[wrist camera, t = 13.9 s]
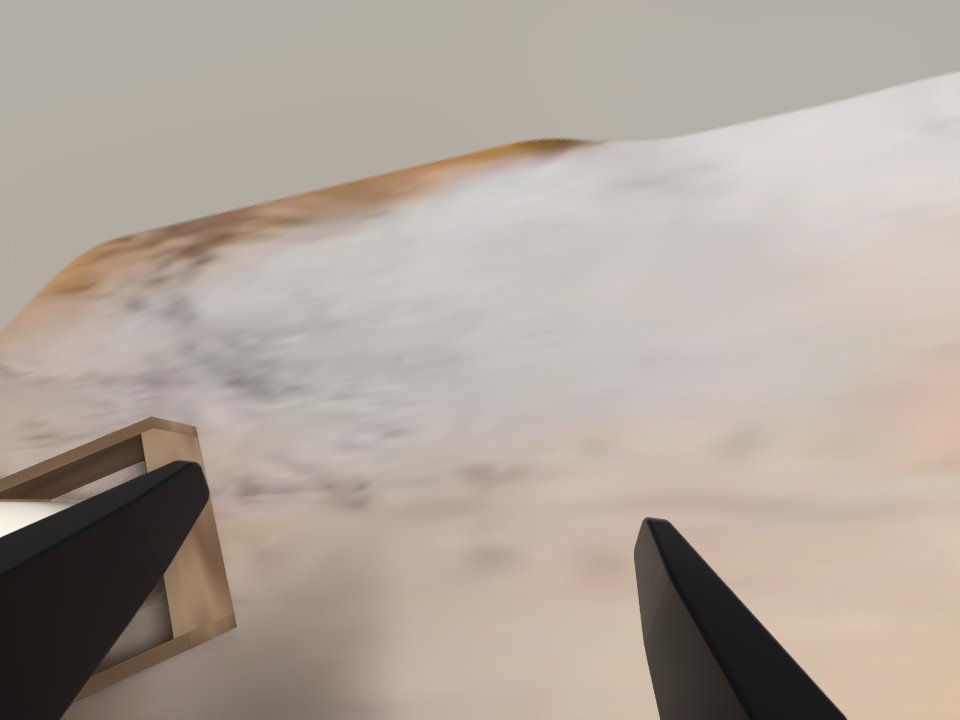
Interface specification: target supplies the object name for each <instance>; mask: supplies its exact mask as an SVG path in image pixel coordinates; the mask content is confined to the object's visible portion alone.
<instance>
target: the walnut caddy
mask: <svg viewBox="0 0 960 720" xmlns="http://www.w3.org/2000/svg"><path fill="white" fill-rule="evenodd" d="M142 460H145V461H146V468H147V473H148V472H150V471H153V470H155V469H157V468H160V467H162V466H164V465H166V464H169V463H171V462H173V461H176V460H186V461H194V462H197V463H199V464H200V465H201V467H202V470H203V473H204V476H205V479H206V475H205V470H204V465H203V460H202V455H201V450H200V446H199V441H198V436H197V431H196V427H194V426H189V425H185V424H181V423H177V422H172V421H168V420H164V419H159V418H155V417H150V418H147V419H145V420H142V421H140V422H137V423H135V424H133V425H130V426H128V427H125V428H123V429H121V430H118V431H116V432H113V433H111V434H109V435H106V436H104V437H101V438H99V439H97V440H94V441H92V442H89V443H87V444H84V445H82V446H80V447H77V448H75V449H72V450H70V451H68V452H65V453H63V454H60V455H58V456H56V457H53V458H51V459H48V460H46V461H43V462H41V463H39V464H36V465H34V466H31V467H29V468H27V469H24V470H22V471H19V472H17V473H15V474H12V475H10V476H7V477H5V478H3V479H0V502H51V500H50V499H52V498H55V497H57V496H60V495H62V494H64V493H67V492H69V491H71V490H74V489H76V488H79V487H81V486H83V485H86V484H88V483H90V482H93V481H95V480H97V479H100V478H102V477H105V476H107V475H109V474H112V473H114V472H116V471H119V470H121V469H124V468H126V467H128V466H131V465H133V464H135V463H138V462H140V461H142ZM206 482H207V480H206ZM164 580H165V586H166V593H167V599H168V605H169V612H170V618H171V624H172V630H173V637H174V639H172V640H170V641H168V642H165V643H163V644H161V645H159V646H157V647H154V648H152V649H150V650H148V651H146V652H143V653H141V654H139V655H137V656H135V657H133V658H130V659H128V660H126V661H124V662H122V663H119V664H117V665H115V666H113V667H111V668H108V669H106V670H104V671H102V672H100V673H97V674H95V675H93V676H91V677H90V678H89V680H88V681H87V682H86V684H85V685H84V687H83V688H82V689H81V691H80V692H79V694H78V695H77V696H76V698H75V699H74V701H73V702H75V701H77V700H79V699H81V698H83V697H85V696H88V695H90V694H92V693H94V692H96V691H99V690H101V689H103V688H105V687H107V686H109V685H112V684H114V683H116V682H118V681H120V680H123V679H125V678H127V677H129V676H131V675H133V674H136V673H138V672H140V671H142V670H144V669H147V668H149V667H151V666H153V665H155V664H157V663H160V662H162V661H164V660H166V659H168V658H170V657H173V656H175V655H177V654H179V653H181V652H184V651H186V650H188V649H190V648H192V647H194V646H197V645H199V644H201V643H203V642H205V641H207V640H209V639H211V638H214V637H216V636H218V635H220V634H222V633H224V632H226V631H228V630H231V629H233V628H235V627H237V626H236V622H235V617H234V612H233V607H232V602H231V597H230V592H229V587H228V582H227V578H226V573H225V568H224V563H223V558H222V553H221V548H220V543H219V538H218V534H217V529H216V524H215V519H214V514H213V509H212V504H211V499H210V495H209V499H208V502H207V504H206V506H205V508H204V509H203V511H202V513H201V514H200V516H199V518H198V519H197V521H196V523H195V524H194V526H193V528H192V529H191V531H190V533H189V534H188V536H187V538H186V539H185V541H184V543H183V544H182V546H181V548H180V549H179V551H178V553H177V554H176V556H175V558H174V559H173V561H172V563H171V564H170V566H169V567H168V569H167V571H166V572H165V574H164Z"/></svg>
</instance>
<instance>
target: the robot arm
mask: <svg viewBox="0 0 960 720" xmlns="http://www.w3.org/2000/svg"><path fill="white" fill-rule="evenodd" d="M209 495H210V491H209V488H208V485H207V482H206V479H205V476H204V473H203V470H202V467H201V465H200V464H199V463H197V462H194V461H186V460H176V461H173V462H171V463H169V464H166V465H164V466H162V467H160V468H157V469H155V470H153V471H150V472H148V473H146V474H144V475H141V476H139V477H137V478H134V479H132V480H130V481H128V482H125V483H123V484H121V485H118V486H116V487H114V488H112V489H109V490H107V491H105V492H102V493H100V494H98V495H96V496H93V497H91V498H89V499H87V500H84V501H82V502H80V503H77V504H75V505H73V506H71V507H68V508H66V509H64V510H61V511H59V512H57V513H55V514H52V515H50V516H48V517H45V518H43V519H41V520H39V521H36V522H34V523H32V524H30V525H27V526H25V527H23V528H20V529H18V530H16V531H14V532H11V533H9V534H7V535H4V536H2V537H0V720H60V719H61V717H62V716H63V714H64V713H65V712H66V710H67V709H68V707H69V706H70V705H71V703H72V702H73V701H74V699H75V698H76V696H77V695H78V694H79V692H80V691H81V689H82V688H83V687H84V685H85V684H86V682H87V681H88V680H89V678H90V677H91V676H92V674H93V673H94V671H95V670H96V669H97V667H98V666H99V664H100V663H101V662H102V660H103V659H104V657H105V656H106V655H107V653H108V652H109V651H110V649H111V648H112V646H113V645H114V644H115V642H116V641H117V639H118V638H119V637H120V635H121V634H122V633H123V631H124V630H125V628H126V627H127V626H128V624H129V623H130V621H131V620H132V619H133V617H134V616H135V614H136V613H137V612H138V610H139V609H140V608H141V606H142V605H143V603H144V602H145V601H146V599H147V598H148V596H149V595H150V594H151V592H152V591H153V589H154V588H155V587H156V585H157V584H158V582H159V581H160V580H161V578H162V577H163V575H164V574H165V572H166V571H167V569H168V567H169V566H170V564H171V563H172V561H173V559H174V558H175V556H176V554H177V553H178V551H179V549H180V548H181V546H182V544H183V543H184V541H185V539H186V538H187V536H188V534H189V533H190V531H191V529H192V528H193V526H194V524H195V523H196V521H197V519H198V518H199V516H200V514H201V513H202V511H203V509H204V508H205V506H206V504H207V502H208V499H209ZM634 561H635V570H636V579H637V588H638V597H639V605H640V614H641V623H642V632H643V639H644V646H645V651H646V656H647V661H648V666H649V670H650V675H651V680H652V684H653V689H654V693H655V698H656V702H657V707H658V711H659V716H660V720H847V718H846V717H845V715H844V714H843V713H842V712H841V711H840V710H839V709H838V708H837V707H836V705H835V704H834V703H833V702H832V701H831V700H830V699H829V698H828V697H827V696H826V694H825V693H824V692H823V691H822V690H821V689H820V688H819V687H818V686H817V684H816V683H815V682H814V681H813V680H812V679H811V678H810V677H809V676H808V674H807V673H806V672H805V671H804V670H803V669H802V668H801V667H800V666H799V665H798V663H797V662H796V661H795V660H794V659H793V658H792V657H791V656H790V655H789V653H788V652H787V651H786V650H785V649H784V648H783V647H782V646H781V645H780V643H779V642H778V641H777V640H776V639H775V638H774V637H773V636H772V635H771V634H770V632H769V631H768V630H767V629H766V628H765V627H764V626H763V625H762V624H761V622H760V621H759V620H758V619H757V618H756V617H755V616H754V615H753V614H752V612H751V611H750V610H749V609H748V608H747V607H746V606H745V605H744V604H743V603H742V601H741V600H740V599H739V598H738V597H737V596H736V595H735V594H734V593H733V591H732V590H731V589H730V588H729V587H728V586H727V585H726V584H725V583H724V581H723V580H722V579H721V578H720V577H719V576H718V575H717V574H716V573H715V572H714V570H713V569H712V568H711V567H710V566H709V565H708V564H707V563H706V562H705V560H704V559H703V558H702V557H701V556H700V555H699V554H698V553H697V552H696V550H695V549H694V548H693V547H692V546H691V545H690V544H689V543H688V542H687V541H686V539H685V538H684V537H683V536H682V535H681V534H680V533H679V532H678V531H677V529H676V528H675V527H674V526H673V525H672V524H671V523H670V522H669V521H667V520H665V519H658V518H650V517H647V518H645V519H644V520H643V522H642V524H641V528H640V531H639V534H638V538H637V541H636V545H635V549H634Z"/></svg>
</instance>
